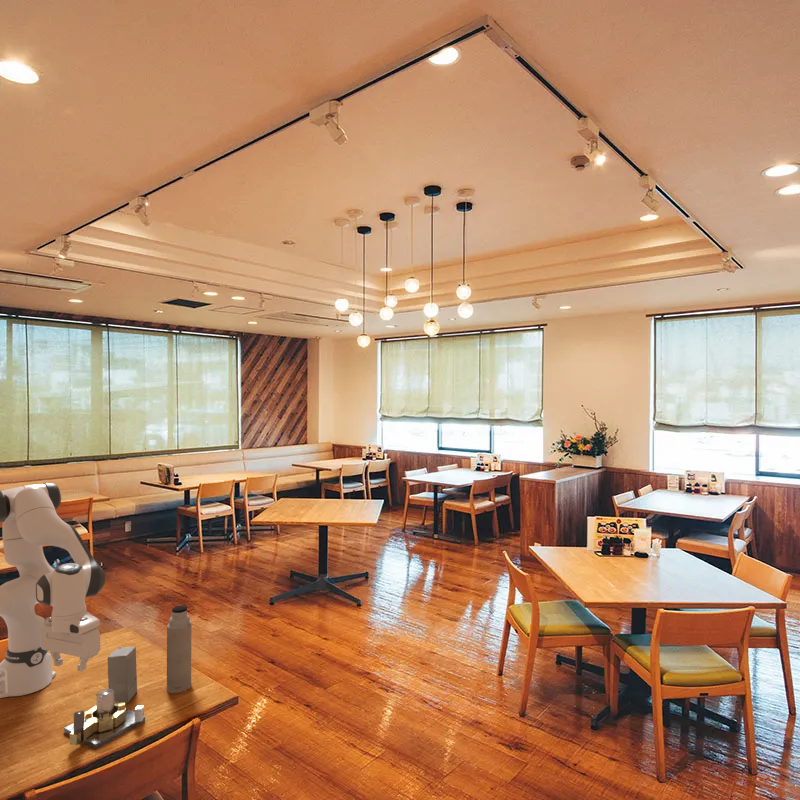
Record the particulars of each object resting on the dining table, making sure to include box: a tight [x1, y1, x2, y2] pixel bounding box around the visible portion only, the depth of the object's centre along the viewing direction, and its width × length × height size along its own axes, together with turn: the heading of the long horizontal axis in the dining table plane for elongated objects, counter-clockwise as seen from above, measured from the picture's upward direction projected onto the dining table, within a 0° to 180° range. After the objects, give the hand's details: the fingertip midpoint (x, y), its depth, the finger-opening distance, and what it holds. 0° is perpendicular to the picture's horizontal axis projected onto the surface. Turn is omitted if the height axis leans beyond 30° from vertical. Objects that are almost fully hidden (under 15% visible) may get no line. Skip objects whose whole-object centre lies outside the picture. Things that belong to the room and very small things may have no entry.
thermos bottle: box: [166, 605, 192, 694], centre depth 193 cm, size 8×8×28 cm
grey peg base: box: [63, 688, 146, 750], centre depth 169 cm, size 18×16×10 cm
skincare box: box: [107, 646, 138, 704], centre depth 186 cm, size 8×7×16 cm
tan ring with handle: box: [69, 701, 127, 746], centre depth 167 cm, size 18×11×8 cm, turn 165°
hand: (69, 667), depth 162 cm, fingers open, 8 cm apart
